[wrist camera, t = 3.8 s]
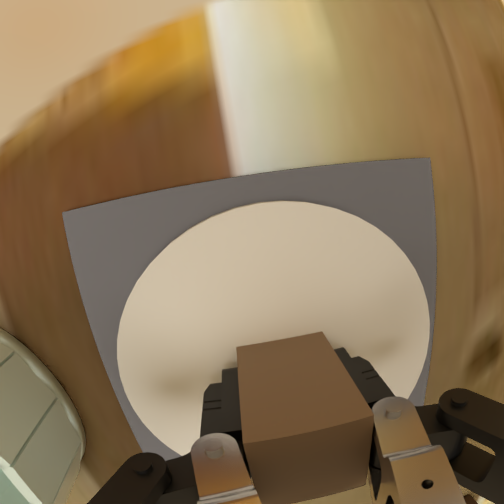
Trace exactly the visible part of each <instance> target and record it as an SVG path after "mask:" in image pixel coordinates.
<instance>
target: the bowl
mask: <svg viewBox="0 0 504 504" xmlns="http://www.w3.org/2000/svg"><path fill="white" fill-rule="evenodd" d="M85 447H86V437H85V432H84V428H83V425H82V421H81V419H80V417H79V414H78V412H77V410H76V408H75V406H74V404H73V403H72V401H71V399H70V398H69V396H68V395H67V393H66V391H65V390H64V388H63V387H62V386H61V384H60V383H59V382H58V380H57V379H56V378H55V376H54V375H53V374H52V373H51V372H50V371H49V369H48V368H47V367H46V366H45V365H44V364H43V363H42V362H41V361H40V360H39V359H38V358H37V357H36V355H35V354H33V353H32V352H31V351H30V350H29V349H28V348H27V347H26V346H25V345H24V344H22V343H21V342H20V341H18V340H17V339H16V338H15V337H13V336H12V335H10V334H9V333H7V332H6V331H5V330H3V329H1V328H0V504H66V502H67V499H68V497H69V494H70V492H71V489H72V487H73V485H74V482H75V480H76V478H77V475H78V473H79V471H80V461H81V459H82V457H83V454H84V452H85Z"/></svg>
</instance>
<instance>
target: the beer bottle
mask: <svg viewBox="0 0 504 504" xmlns="http://www.w3.org/2000/svg"><path fill="white" fill-rule="evenodd" d="M464 500H465V502H466V504H478V503H477V502H476V501H475V500H474V499H473V497H472V496H470V495H467V496H464Z"/></svg>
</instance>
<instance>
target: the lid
mask: <svg viewBox="0 0 504 504" xmlns="http://www.w3.org/2000/svg"><path fill="white" fill-rule="evenodd" d="M429 333H430V318H429V310H428V303H427V299H426V295H425V292H424V288H423V285H422V283H421V281H420V278H419V276H418V274H417V272H416V270H415V268H414V267H413V265H412V264H411V262H410V261H409V259H408V257H407V256H406V255H405V253H404V252H403V251H402V250H401V249H400V248H399V247H398V246H397V245H396V243H395V242H394V241H393V240H392V239H391V238H389V237H388V236H387V235H386V234H384V233H383V232H382V231H380V230H379V229H378V228H377V227H375V226H373V225H372V224H370V223H368V222H366V221H364V220H363V219H361V218H359V217H357V216H355V215H352V214H350V213H347V212H344V211H341V210H339V209H336V208H332V207H328V206H323V205H318V204H313V203H308V202H300V201H284V200H280V201H268V202H257V203H252V204H248V205H243V206H239V207H235V208H232V209H229V210H226V211H224V212H221V213H218V214H216V215H213V216H211V217H209V218H207V219H205V220H203V221H202V222H200V223H198V224H196V225H194V226H192V227H191V228H189V229H188V230H187V231H185V232H184V233H183V234H181V235H180V236H179V237H177V238H176V239H174V240H173V241H172V242H171V243H170V244H169V245H168V246H167V247H166V248H165V249H164V250H163V251H162V252H161V253H160V254H159V255H158V256H157V257H156V258H155V259H154V260H153V261H152V262H151V263H150V264H149V266H148V267H147V268H146V270H145V271H144V272H143V274H142V275H141V276H140V278H139V279H138V281H137V282H136V284H135V286H134V288H133V290H132V292H131V294H130V295H129V297H128V299H127V302H126V304H125V307H124V310H123V313H122V316H121V320H120V325H119V331H118V337H117V361H118V368H119V374H120V378H121V381H122V384H123V388H124V391H125V393H126V395H127V398H128V400H129V402H130V404H131V406H132V408H133V409H134V411H135V412H136V414H137V415H138V417H139V418H140V419H141V421H142V422H143V424H144V425H145V426H146V427H147V428H148V429H149V430H150V431H151V432H152V433H153V435H154V436H156V437H157V438H158V439H159V440H160V441H161V442H163V443H164V444H165V445H166V446H167V447H169V448H170V449H172V450H173V451H175V452H177V453H178V454H180V455H181V456H183V455H186V454H188V453H189V452H191V447H192V445H193V444H194V442H195V441H196V440H198V439H199V438H200V429H201V418H202V411H203V410H202V407H203V396H204V392H205V390H206V389H207V387H208V386H209V385H210V384H213V383H221V382H222V369H228V368H235V367H238V383H239V398H240V412H241V426H242V439H243V446H244V450H245V454H246V457H247V461H248V465H249V468H250V472H251V476H252V479H253V483H254V486H255V489H256V491H257V494H258V496H259V499H260V501H261V503H262V504H291V503H296V502H301V501H306V500H311V499H315V498H320V497H324V496H328V495H332V494H336V493H340V492H343V491H347V490H350V489H354V488H357V487H360V486H364V485H366V479H367V472H368V465H369V458H370V450H371V442H372V433H373V423H374V414H373V412H372V410H371V409H370V407H369V405H368V404H367V402H366V401H365V399H364V397H363V396H362V394H361V393H360V391H359V389H358V388H357V386H356V384H355V383H354V381H353V380H352V378H351V376H350V375H349V373H348V372H347V370H346V368H345V367H344V365H343V364H342V362H341V360H340V359H339V357H338V356H337V354H336V352H335V351H334V349H337V348H341V347H344V348H345V349H346V351H347V352H348V354H349V355H350V357H351V358H353V357H357V356H360V357H362V358H364V359H365V360H367V361H369V362H370V363H371V365H372V366H373V367H374V369H375V370H376V371H377V373H378V374H379V376H380V377H381V378H382V379H383V380H384V382H385V383H386V384H387V386H388V387H389V388H390V390H391V391H392V392H393V394H394V395H395V396H397V397H403V398H406V399H408V398H409V396H410V394H411V392H412V391H413V389H414V387H415V385H416V383H417V381H418V378H419V376H420V374H421V371H422V369H423V365H424V362H425V358H426V355H427V349H428V343H429Z"/></svg>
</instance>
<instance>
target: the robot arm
mask: <svg viewBox="0 0 504 504" xmlns="http://www.w3.org/2000/svg"><path fill="white" fill-rule="evenodd" d="M334 351H335V352H336V354H337V356H338V357H339V359H340V360H341V362H342V364H343V365H344V367H345V368H346V370H347V372H348V373H349V375H350V376H351V378H352V380H353V381H354V383H355V384H356V386H357V388H358V389H359V391H360V393H361V394H362V396H363V397H364V399H365V401H366V402H367V404H368V405H369V407H370V409H371V410H372V412H373V414H374V423H373V433H372V442H371V450H370V458H369V465H368V472H367V475H368V480H369V486H370V492H371V498H372V504H466V502H465V500H464V497H463V494H462V492H461V489H460V487H459V484H460V485H461V486H463V487H465V488H467V489H469V490H471V491H472V492H474V493H476V494H478V495H480V496H482V497H484V498H486V499H487V500H489V501H491V502H493V503H495V504H504V404H502V403H499V402H497V401H494V400H492V399H489V398H487V397H484V396H482V395H479V394H477V393H475V392H472V391H470V390H467V389H461V388H456V389H451V390H448V391H446V392H445V393H443V394H442V395H441V397H440V399H439V403H438V404H433V405H426V406H414V404H413V403H412V402H411V401H410V400H408V399H406V398H403V397H397V396H395V395H394V394H393V392H392V391H391V390H390V388H389V387H388V386H387V384H386V383H385V382H384V380H383V379H382V378H381V377H380V376H379V374H378V373H377V371H376V370H375V369H374V367H373V366H372V365H371V363H370V362H369V361H367V360H365V359H364V358H362V357H360V356H357V357H353V358H351V357H350V355H349V354H348V352H347V351H346V349H345V348H344V347H341V348H337V349H334ZM202 410H203V411H202V418H201V429H200V438H199V439H198V440H196V441H195V442H194V444H193V445H192V447H191V452H189V453H188V454H186V455H183V456H181V457H177V458H174V459H170V460H167V461H165V460H164V458H163V457H162V456H160V455H158V454H156V453H151V452H144V453H139V454H136V455H134V456H132V457H130V458H129V459H128V460H127V461H126V462H125V463H124V464H123V465H122V466H121V467H120V468H119V469H118V471H117V472H116V473H115V474H114V475H113V476H112V477H111V478H110V479H109V480H108V482H107V483H106V484H105V485H104V486H103V487H102V488H101V489H100V490H99V491H98V492H97V494H96V495H95V496H94V497H93V498H92V499H91V500H90V501H89V502H88V503H87V504H262V503H261V501H260V499H259V496H258V494H257V491H256V489H255V488H254V487H253V484H252V482H251V472H250V468H249V465H248V461H247V457H246V454H245V450H244V446H243V439H242V426H241V412H240V398H239V383H238V367H235V368H228V369H222V382H221V383H213V384H210V385H209V386H208V387H207V389H206V390H205V392H204V396H203V407H202ZM468 437H469V438H471V439H473V440H475V441H477V442H479V443H481V444H483V445H485V446H487V447H489V448H491V449H492V450H493V451H494V452H495V455H496V456H494V455H492V454H490V453H488V452H486V451H484V450H482V449H480V448H478V447H476V446H474V445H472V444H469V443H467V442H466V441H467V438H468Z"/></svg>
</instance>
